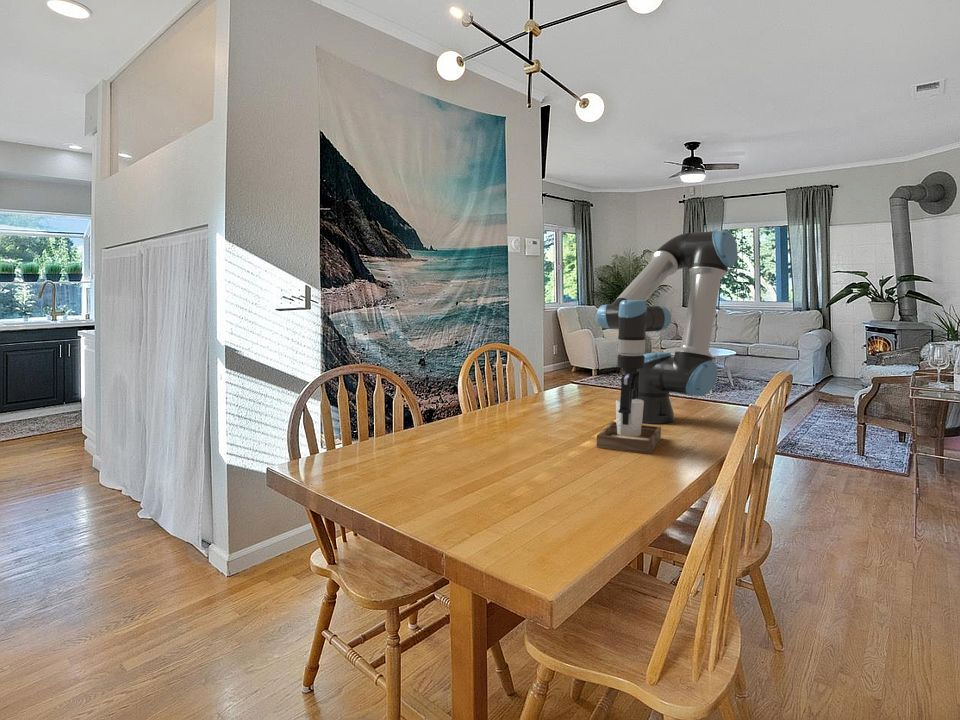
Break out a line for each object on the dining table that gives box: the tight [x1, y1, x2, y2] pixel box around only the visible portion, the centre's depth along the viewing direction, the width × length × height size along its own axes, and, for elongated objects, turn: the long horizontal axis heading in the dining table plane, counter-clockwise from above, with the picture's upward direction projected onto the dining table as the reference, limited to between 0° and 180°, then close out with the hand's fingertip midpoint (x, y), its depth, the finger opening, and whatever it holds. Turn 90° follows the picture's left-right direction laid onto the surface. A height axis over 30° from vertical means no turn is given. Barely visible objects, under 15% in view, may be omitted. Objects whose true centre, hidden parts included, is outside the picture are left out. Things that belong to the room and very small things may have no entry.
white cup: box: [615, 397, 644, 437], centre depth 165 cm, size 8×8×10 cm
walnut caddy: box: [596, 421, 662, 455], centre depth 167 cm, size 18×15×4 cm
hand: (628, 431), depth 165 cm, fingers closed on white cup, 7 cm apart
